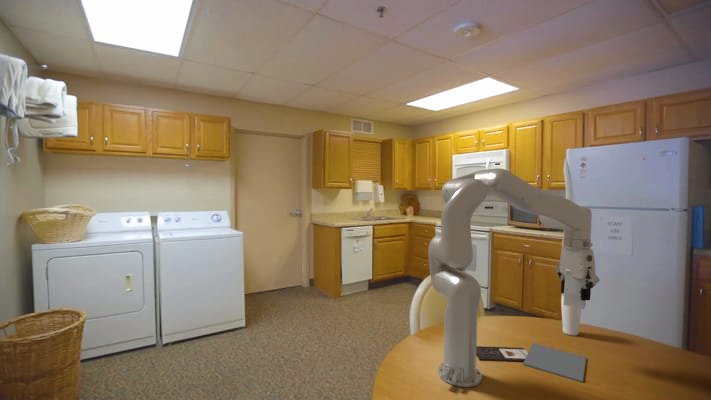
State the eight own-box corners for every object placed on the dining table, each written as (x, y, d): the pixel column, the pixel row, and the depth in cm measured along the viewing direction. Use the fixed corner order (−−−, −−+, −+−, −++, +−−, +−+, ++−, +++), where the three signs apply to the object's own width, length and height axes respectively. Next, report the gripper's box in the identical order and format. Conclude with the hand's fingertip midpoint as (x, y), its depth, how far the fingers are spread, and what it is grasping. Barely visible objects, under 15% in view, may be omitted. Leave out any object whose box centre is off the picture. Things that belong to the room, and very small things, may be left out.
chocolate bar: (471, 346, 118) (523, 347, 117) (471, 348, 118) (523, 350, 117) (479, 358, 109) (535, 361, 108) (479, 361, 109) (535, 363, 108)
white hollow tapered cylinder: (584, 337, 127) (585, 298, 126) (567, 337, 127) (568, 298, 126) (573, 329, 134) (574, 293, 133) (556, 329, 134) (557, 293, 133)
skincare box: (563, 305, 110) (564, 269, 110) (564, 302, 114) (565, 267, 114) (585, 309, 107) (586, 272, 106) (586, 306, 110) (587, 270, 110)
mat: (582, 382, 96) (582, 381, 96) (523, 364, 106) (523, 363, 106) (586, 358, 111) (586, 356, 111) (533, 344, 121) (533, 343, 120)
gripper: (611, 248, 102) (609, 304, 102) (564, 239, 119) (563, 288, 119) (590, 248, 100) (589, 305, 101) (547, 240, 117) (545, 289, 118)
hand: (575, 295), depth 110 cm, fingers closed on skincare box, 7 cm apart
